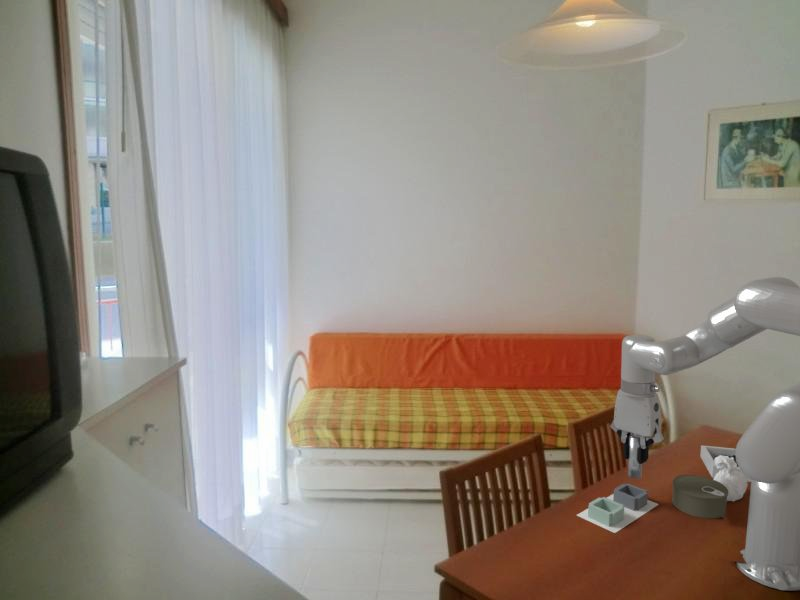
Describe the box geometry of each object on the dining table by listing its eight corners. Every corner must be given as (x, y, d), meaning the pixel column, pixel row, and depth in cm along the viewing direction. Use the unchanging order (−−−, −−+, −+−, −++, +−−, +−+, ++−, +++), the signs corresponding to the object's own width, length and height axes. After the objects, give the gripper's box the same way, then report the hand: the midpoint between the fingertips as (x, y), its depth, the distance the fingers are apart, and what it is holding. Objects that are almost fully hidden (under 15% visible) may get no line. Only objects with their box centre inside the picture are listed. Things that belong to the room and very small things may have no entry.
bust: (739, 497, 150) (716, 456, 155) (764, 490, 144) (739, 447, 149) (712, 509, 144) (689, 466, 149) (737, 502, 138) (712, 457, 143)
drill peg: (642, 479, 137) (643, 439, 136) (628, 477, 138) (629, 438, 136) (640, 473, 140) (641, 435, 139) (627, 472, 141) (628, 434, 139)
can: (686, 495, 147) (688, 470, 146) (735, 514, 137) (737, 488, 136) (661, 509, 140) (662, 483, 139) (710, 530, 131) (712, 503, 130)
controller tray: (772, 484, 152) (773, 472, 152) (712, 477, 156) (713, 465, 156) (755, 461, 166) (756, 450, 166) (700, 456, 170) (701, 445, 170)
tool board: (614, 539, 127) (615, 520, 127) (576, 520, 135) (576, 503, 134) (658, 509, 140) (659, 492, 139) (620, 494, 147) (621, 478, 147)
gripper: (679, 391, 132) (676, 466, 134) (614, 377, 145) (612, 446, 147) (663, 397, 127) (660, 475, 130) (598, 383, 140) (596, 454, 142)
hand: (635, 459), depth 138 cm, fingers closed on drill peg, 3 cm apart
